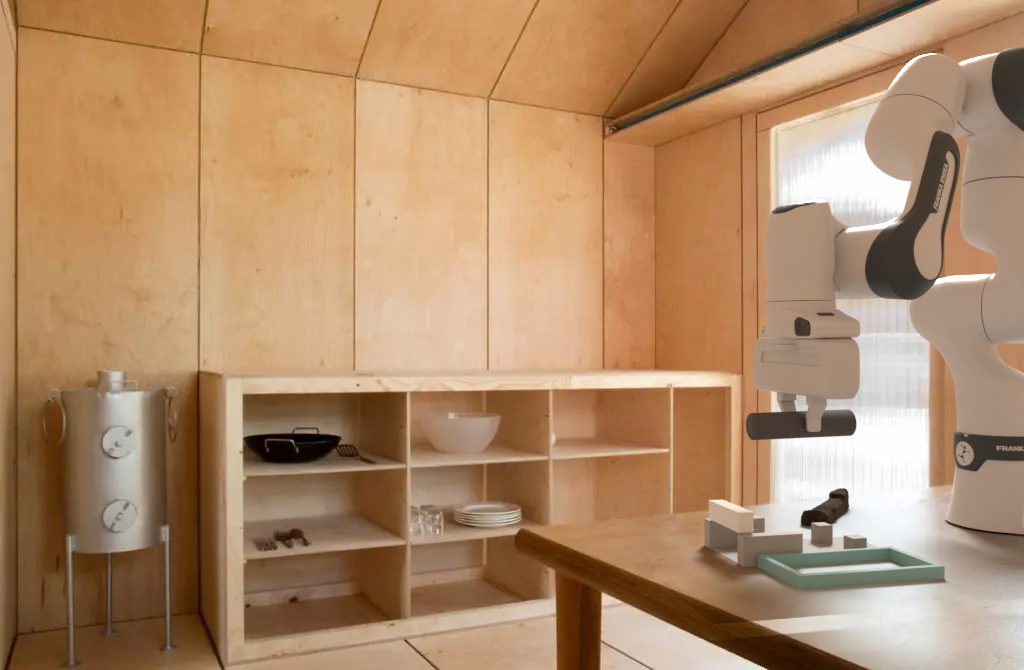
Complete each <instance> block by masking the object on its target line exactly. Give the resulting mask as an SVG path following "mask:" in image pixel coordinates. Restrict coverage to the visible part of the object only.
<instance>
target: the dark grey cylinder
mask: <svg viewBox="0 0 1024 670" xmlns="http://www.w3.org/2000/svg"><path fill="white" fill-rule="evenodd" d="M806 414H807V410H796V411H791V412H781V411H769V412H750V413H748V414H747V416H746V419H745V429H746V434H747V436H748V438H749V440H751V441H762V440H782V439H783V440H786V439H790V440H791V439H805V438H806V439H808V438H827V437H828V438H829V437H833V438H834V437H851V436H853V435H854V434H855V433H856V430H857V417H856V415H855V414H854V412H853V410H851V409H844V408H843V409H825V411H824V413H823V415H822V418H821V430H820V431H819V432H809V431H805V430H803V422H802V417H806Z"/></svg>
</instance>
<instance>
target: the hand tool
mask: <svg viewBox="0 0 1024 670" xmlns="http://www.w3.org/2000/svg"><path fill="white" fill-rule="evenodd" d="M849 499H850V497H849V491H848V489H847V488H845V487H843V488H842V487H841V488H840V487H839V488H836V489H835V490H831V491H830V492H829V493H828V499H827V500H825V501H823V502H821V503H820V504H819V505H816V506H814V507H813V508H812V509H808V510H803V512H802V514H801V516H800V525H801V526H804V527H810V528H811V523H817V522H825V523H828V524H831V525H833V523H835V521H836V520H838V519H839V518H841V517H842V516H843V515H845V514H846V513H847V512H848V511H849V508H850V503H849Z"/></svg>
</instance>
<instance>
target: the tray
mask: <svg viewBox="0 0 1024 670" xmlns="http://www.w3.org/2000/svg"><path fill="white" fill-rule="evenodd" d="M878 561H879V562H880V561H892V562H894V563H897V564H899V565H902V566H898V567H897V566H895V567H884V568H883V567H881V568H868V569H866V568H865V569H853V570H837V571H825V572H824V571H823V572H821V571H820V572H808V573H807V572H806V573H802V572H800V571H798V570H796V569H794V568H792V567H801V566H818V565H831V564H845V563H846V564H847V563H860V562H863V563H864V562H878ZM945 566H946V565H943V564H941V563H938V562H934V561H933V560H929V559H926V558H924V557H921V556H919V555H916V554H913V553H910V552H907V551H906V550H903V549H899V548H897V547H894V546H890V545H889V546H876V547H872V548H856V549H840V550H824V551H808V552H792V553H776V554H760V555H757V566H756V567H757V568H759V569H761V570H763V571H765V572H767V573H768V574H771V576H772V575H773V576H774V577H776V578H778V579H779V580H782V581H783V582H785V583H787V584H789V585H790V586H793V587H795V588H797V589H798V590H807V589H808V590H809V589H810V590H811V589H820V588H823V589H824V588H837V587H849V586H850V587H851V586H863V585H877V584H889V583H892V584H894V583H903V582H904V583H906V582H918V581H931V580H932V581H934V580H944V579H946V578H945V576H946V574H945V572H946V571H945V570H946V568H945Z"/></svg>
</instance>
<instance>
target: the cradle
mask: <svg viewBox="0 0 1024 670" xmlns="http://www.w3.org/2000/svg"><path fill="white" fill-rule="evenodd" d="M765 520H766V519H765V517H763V516H760V515H754V532H748V533H738V532H736V531H733V530H731V529H729V528H727V527H725V526H723V525H721V524H719V523H716V522H714V521H712V520H710V519H709V517H706V518H705V517H704V526H703V527H704V546H705V547H706V548H709V549H710V550H712V551H713V552H716V553H717V554H719V555H721V556H723V557H725V558H726V559H729V561H732V562H734V563H736V564H737V565H738V566H741V567H742V568H750V567H751V568H752V567H757V555H760V554H776V553H792V552H808V551H824V550H840V549H856V548H872V547H877V546H876V545H874V544H871V543H868V538H867V537H866V536H863V535H860V534H858V533H857V534H855V533H854V534H844V535H843V536H837V537H835V536H834V533H833V532H834V531H833V527H834V526H833V524H828V523H825V522H817V523H811V527H810V529H811V530H810V533H811V535H810V536H811V537H810V538H805V539H804V534H803V533H802V532H800V531H797V530H788V531H787V530H786V531H785V530H784V531H770V532H765V531H766V530H765V529H766V528H765V525H766V521H765ZM833 536H834V537H833Z"/></svg>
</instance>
